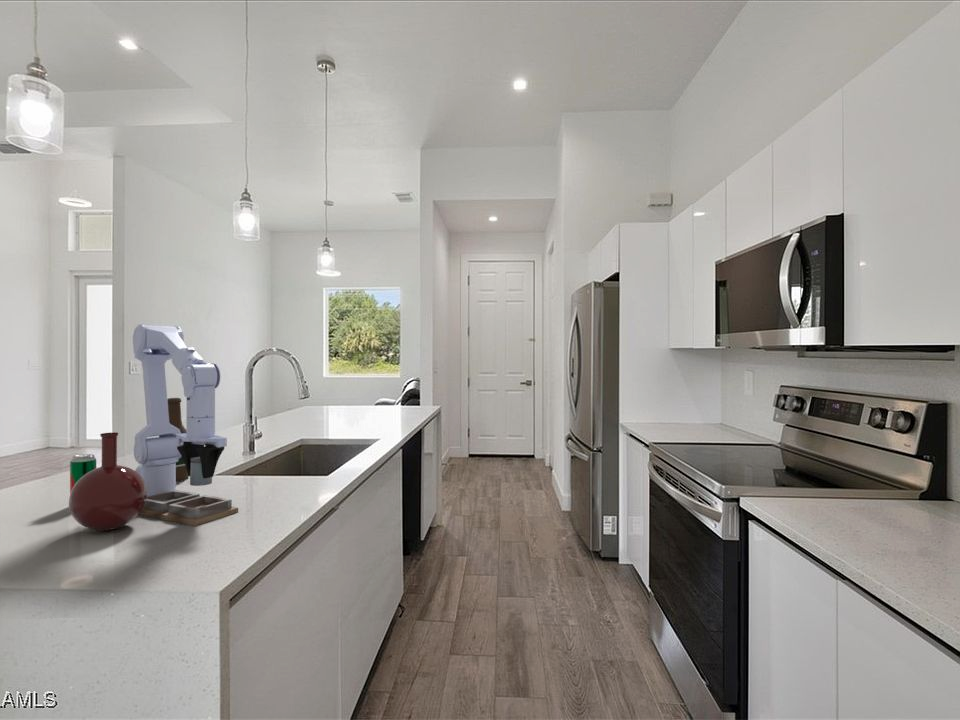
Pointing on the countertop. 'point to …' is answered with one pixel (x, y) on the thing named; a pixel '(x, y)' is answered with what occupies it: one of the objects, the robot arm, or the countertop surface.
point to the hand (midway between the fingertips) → (200, 476)
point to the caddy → (187, 507)
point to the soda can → (80, 467)
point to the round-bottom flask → (107, 492)
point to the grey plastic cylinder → (197, 473)
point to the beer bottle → (176, 421)
